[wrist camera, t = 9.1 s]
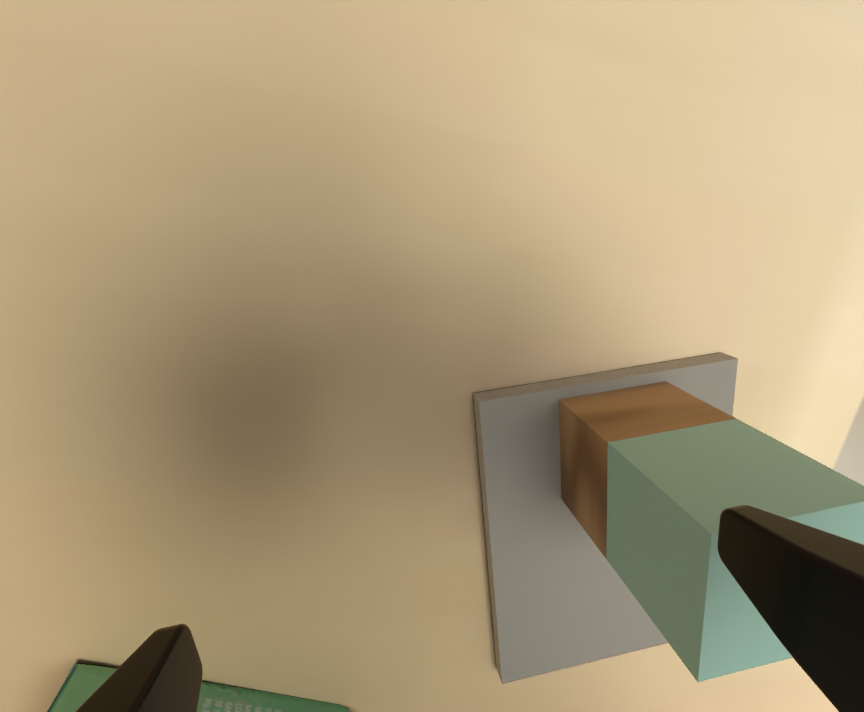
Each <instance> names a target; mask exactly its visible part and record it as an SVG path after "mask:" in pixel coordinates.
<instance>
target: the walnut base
mask: <svg viewBox="0 0 864 712" xmlns="http://www.w3.org/2000/svg"><path fill="white" fill-rule="evenodd" d="M732 419H736V418H734V417H732V416H730V415H729V414H727V413H725V412H723V411H721V410H719V409H717V408H715V407H713V406H712V405H710V404H708V403H706V402H704V401H702V400H700V399H698V398H696V397H695V396H693V395H691V394H689V393H687V392H685V391H683V390H681V389H679V388H678V387H676V386H674V385H672V384H670V383H668V382H666V381H664V382H658V383H652V384H646V385H641V386H635V387H629V388H623V389H617V390H611V391H605V392H599V393H594V394H588V395H582V396H576V397H570V398H564V399H559V426H560V465H561V499H562V500H563V502H564V503H565V504H566V506H567V507H568V508H569V510H570V511H571V513H572V514H573V515H574V517H575V518H576V519H577V521H578V522H579V523H580V525H581V526H582V527H583V529H584V530H585V531H586V533H587V534H588V535H589V537H590V538H591V539H592V541H593V542H594V544H595V545H596V546H597V548H598V549H599V550H600V552H601V553H602V554H603V556H604V557H605V558H606V539H607V455H608V442H612V441H617V440H622V439H628V438H633V437H639V436H644V435H650V434H655V433H661V432H666V431H672V430H677V429H683V428H688V427H693V426H699V425H704V424H710V423H715V422H721V421H726V420H732Z"/></svg>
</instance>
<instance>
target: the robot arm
mask: <svg viewBox="0 0 864 712" xmlns="http://www.w3.org/2000/svg"><path fill="white" fill-rule="evenodd" d="M717 549H718V553H719V556H720V558H721V560H722V562H723V564H724V565H725V566H726V568H727V569H728V570H729V572H730V573H731V575H732V576H733V577H734V579H735V580H736V582H737V583H738V584H739V586H740V587H741V588H742V590H743V591H744V593H745V594H746V595H747V597H748V598H749V600H750V601H751V602H752V604H753V605H754V606H755V608H756V609H757V611H758V612H759V613H760V615H761V616H762V618H763V619H764V620H765V622H766V623H767V624H768V626H769V627H770V629H771V630H772V631H773V633H774V634H775V635H776V637H777V638H778V639H779V641H780V642H781V643H782V645H783V646H784V647H785V648H786V650H787V651H788V652H789V653H790V654H791V656H792V657H793V658H794V659H795V661H796V662H797V663H798V664H799V665H800V666H801V668H802V669H803V670H804V671H805V672H806V673H807V675H808V676H809V677H810V678H811V679H812V681H813V682H814V683H815V684H816V685H817V686H818V688H819V689H820V690H821V691H822V692H823V693H824V695H825V696H826V697H827V698H828V699H829V701H830V702H831V703H832V704H833V705H834V706H835V708H836V709H837V710H838V711H839V712H864V545H863V544H860V543H857V542H854V541H852V540H849V539H846V538H843V537H840V536H837V535H834V534H831V533H828V532H825V531H822V530H819V529H816V528H814V527H811V526H808V525H805V524H802V523H799V522H796V521H793V520H790V519H787V518H784V517H781V516H779V515H776V514H773V513H770V512H767V511H764V510H761V509H758V508H755V507H752V506H749V505H740V506H735V507H730V508H726V509H724V510H723V511H722V513H721V515H720V522H719V533H718V543H717ZM201 683H202V663H201V660H200V657H199V654H198V651H197V648H196V645H195V642H194V639H193V636H192V633H191V631H190V629H189V627H188V626H187V625H185V624H179V625H174V626H170V627H165V628H161V629H158V630H157V631H155V632H154V633H153V634H152V635H151V636H150V637H149V638H148V639H147V640H146V641H145V642H144V643H143V644H142V645H141V646H140V647H139V648H138V649H137V650H136V651H135V652H134V653H133V654H132V655H131V656H130V657H129V658H128V659H127V660H126V661H125V662H124V663H123V664H122V665H121V666H120V667H119V668H118V669H117V670H116V671H115V672H114V673H113V674H112V675H111V676H110V677H109V678H108V679H107V680H106V681H105V682H104V683H103V684H102V685H101V686H100V687H99V688H98V689H97V690H96V691H95V692H94V693H93V694H92V695H91V696H90V697H89V698H88V699H87V700H86V701H85V702H84V703H83V704H82V705H81V706H80V707H79V708H78V709H77V710H76V711H75V712H197V707H198V701H199V695H200V689H201Z"/></svg>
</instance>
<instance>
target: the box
mask: <svg viewBox="0 0 864 712" xmlns="http://www.w3.org/2000/svg"><path fill="white" fill-rule="evenodd" d="M116 670H117V669H116V668H109V667H102V666H93V665H84V664H74V666H73V668H72V670H71V671H70V673H69V675H68V677H67V679H66V680H65V682H64V684H63V685H62V687H61V689H60V691H59V692H58V694H57V696H56V698H55V699H54V701H53V703H52V705H51V706H50V708H49V710H48V711H47V712H75V711H76V710H77V709H78V708H79V707H80V706H81V705H82V704H83V703H84V702H85V701H86V700H87V699H88V698H89V697H90V696H91V695H92V694H93V693H94V692H95V691H96V690H97V689H98V688H99V687H100V686H101V685H102V684H103V683H104V682H105V681H106V680H107V679H108V678H109V677H110V676H111V675H112V674H113V673H114V672H115V671H116ZM197 712H349V711H348V710H347V708H346V707H343V706H341V705H338V704H332V703H327V702H321V701H315V700H310V699H304V698H299V697H293V696H287V695H282V694H276V693H270V692H265V691H259V690H253V689H247V688H241V687H235V686H229V685H223V684H217V683H211V682H204V681H202V683H201V689H200V695H199V701H198V707H197Z"/></svg>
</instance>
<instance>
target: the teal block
mask: <svg viewBox="0 0 864 712" xmlns="http://www.w3.org/2000/svg"><path fill="white" fill-rule="evenodd" d="M740 505H749V506H752V507H755V508H758V509H761V510H764V511H767V512H770V513H773V514H776V515H779V516H781V517H784V518H787V519H790V520H793V521H796V522H799V523H802V524H805V525H808V526H811V527H814V528H816V529H819V530H822V531H825V532H828V533H831V534H834V535H837V536H840V537H843V538H846V539H849V540H852V541H854V542H857V543H860V544H863V545H864V486H862V485H861V484H859V483H857V482H855V481H853V480H851V479H849V478H847V477H845V476H844V475H842V474H840V473H838V472H836V471H834V470H832V469H830V468H828V467H827V466H825V465H823V464H821V463H819V462H817V461H815V460H813V459H811V458H810V457H808V456H806V455H804V454H802V453H800V452H798V451H796V450H795V449H793V448H791V447H789V446H787V445H785V444H783V443H781V442H779V441H778V440H776V439H774V438H772V437H770V436H768V435H766V434H764V433H762V432H761V431H759V430H757V429H755V428H753V427H751V426H749V425H747V424H745V423H744V422H742V421H740V420H738V419H732V420H726V421H721V422H715V423H710V424H704V425H699V426H693V427H688V428H683V429H677V430H672V431H666V432H661V433H655V434H650V435H644V436H639V437H633V438H628V439H622V440H617V441H612V442H608V455H607V539H606V559H607V561H608V562H609V563H610V565H611V566H612V567H613V569H614V570H615V571H616V573H617V574H618V575H619V577H620V578H621V579H622V581H623V582H624V584H625V585H626V586H627V588H628V589H629V590H630V592H631V593H632V594H633V596H634V597H635V598H636V600H637V601H638V602H639V604H640V605H641V606H642V608H643V609H644V610H645V612H646V613H647V614H648V616H649V617H650V618H651V620H652V621H653V623H654V624H655V625H656V627H657V628H658V629H659V631H660V632H661V633H662V635H663V636H664V637H665V639H666V640H667V641H668V643H669V644H670V645H671V647H672V648H673V649H674V651H675V652H676V653H677V655H678V656H679V657H680V659H681V660H682V662H683V663H684V664H685V666H686V667H687V668H688V670H689V671H690V672H691V674H692V675H693V676H694V678H695V679H696V680H697V682H700V681H704V680H708V679H712V678H716V677H720V676H723V675H727V674H731V673H735V672H739V671H743V670H747V669H750V668H754V667H758V666H762V665H766V664H770V663H773V662H777V661H781V660H785V659H789V658H793V657H792V656H791V654H790V653H789V652H788V651H787V650H786V648H785V647H784V646H783V645H782V643H781V642H780V641H779V639H778V638H777V637H776V635H775V634H774V633H773V631H772V630H771V629H770V627H769V626H768V624H767V623H766V622H765V620H764V619H763V618H762V616H761V615H760V613H759V612H758V611H757V609H756V608H755V606H754V605H753V604H752V602H751V601H750V600H749V598H748V597H747V595H746V594H745V593H744V591H743V590H742V588H741V587H740V586H739V584H738V583H737V582H736V580H735V579H734V577H733V576H732V575H731V573H730V572H729V570H728V569H727V568H726V566H725V565H724V564H723V562H722V560H721V558H720V556H719V553H718V549H717V543H718V533H719V522H720V515H721V513H722V511H723V510H724V509H726V508H730V507H735V506H740Z"/></svg>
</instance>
